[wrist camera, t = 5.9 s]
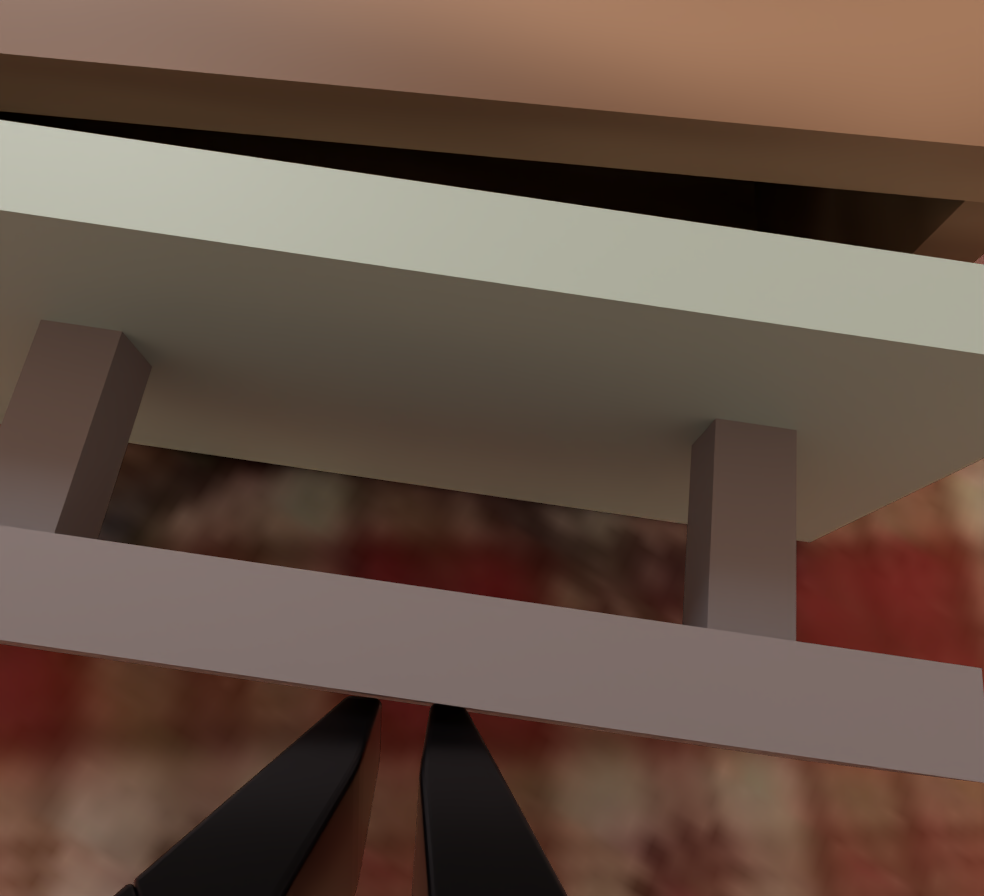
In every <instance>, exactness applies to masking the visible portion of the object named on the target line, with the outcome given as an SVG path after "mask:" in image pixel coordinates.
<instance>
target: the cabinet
mask: <svg viewBox="0 0 984 896" xmlns="http://www.w3.org/2000/svg"><path fill="white" fill-rule="evenodd" d="M0 120H4V121H11V122H18V123H25V124H32V125H38V126H45V127H52V128H59V129H66V130H72V131H79V132H86V133H93V134H100V135H106V136H113V137H120V138H127V139H134V140H140V141H147V142H154V143H161V144H168V145H174V146H181V147H188V148H195V149H202V150H208V151H215V152H222V153H229V154H235V155H242V156H249V157H256V158H263V159H269V160H276V161H283V162H290V163H297V164H303V165H310V166H317V167H324V168H331V169H337V170H344V171H351V172H358V173H365V174H371V175H378V176H385V177H392V178H399V179H405V180H412V181H419V182H426V183H433V184H439V185H446V186H453V187H460V188H467V189H473V190H480V191H487V192H494V193H501V194H507V195H514V196H521V197H528V198H535V199H541V200H548V201H555V202H562V203H568V204H575V205H582V206H589V207H596V208H602V209H609V210H616V211H623V212H630V213H636V214H643V215H650V216H657V217H664V218H670V219H677V220H684V221H691V222H698V223H704V224H711V225H718V226H725V227H732V228H738V229H745V230H752V231H759V232H766V233H772V234H779V235H786V236H793V237H800V238H806V239H813V240H820V241H827V242H834V243H840V244H847V245H854V246H861V247H867V248H874V249H881V250H888V251H895V252H901V253H908V254H915V255H922V256H929V257H935V258H942V259H949V260H956V261H963V262H969V263H974V262H975V261H976V260H977V259H978V258H980V257H981V256H982V255H983V254H984V0H0Z"/></svg>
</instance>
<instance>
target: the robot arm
mask: <svg viewBox="0 0 984 896" xmlns="http://www.w3.org/2000/svg"><path fill="white" fill-rule="evenodd" d="M381 714H382V705H381V702H380V700H379V699H377V698H370V697H359V696H349V697H347V698H345V699H344V700H343V701H341V702H340V703H339V704H338V705H337V706H336V707H334V708H333V709H332V710H331V711H330V712H329V713H327V714H326V715H325V716H324V717H323V718H322V719H321V720H319V721H318V722H317V723H316V724H315V725H314V726H312V727H311V728H310V729H309V730H308V731H307V732H305V733H304V734H303V735H302V736H301V737H300V738H298V739H297V740H296V741H295V742H294V743H293V744H291V745H290V746H289V747H288V748H287V749H286V750H284V751H283V752H282V753H281V754H280V755H279V756H278V757H276V758H275V759H274V760H273V761H272V762H271V763H269V764H268V765H267V766H266V767H265V768H264V769H262V770H261V771H260V772H259V773H258V774H257V775H255V776H254V777H253V778H252V779H251V780H250V781H248V782H247V783H246V784H245V785H244V786H243V787H242V788H240V789H239V790H238V791H237V792H236V793H235V794H233V795H232V796H231V797H230V798H229V799H228V800H226V801H225V802H224V803H223V804H222V805H221V806H219V807H218V808H217V809H216V810H215V811H214V812H212V813H211V814H210V815H209V816H208V817H207V818H205V819H204V820H203V821H202V822H201V823H200V824H199V825H197V826H196V827H195V828H194V829H193V830H192V831H190V832H189V833H188V834H187V835H186V836H185V837H183V838H182V839H181V840H180V841H179V842H178V843H176V844H175V845H174V846H173V847H172V848H171V849H169V850H168V851H167V852H166V853H165V854H164V855H162V856H161V857H160V858H159V859H158V860H157V861H156V862H154V863H153V864H152V865H151V866H150V867H149V868H147V869H146V870H145V871H144V872H143V873H142V874H140V875H139V876H138V877H137V878H136V879H135V880H134V885H132V884H128V885H126V886H125V887H124V888H122V889H121V890H120V891H119V892H118V893H117V894H115V895H114V896H355V892H356V888H357V885H358V880H359V875H360V870H361V865H362V860H363V854H364V848H365V842H366V837H367V831H368V825H369V819H370V814H371V808H372V802H373V797H374V791H375V785H376V779H377V774H378V767H379V759H380V743H381ZM412 896H567V894H566V892H565V890H564V888H563V887H562V885H561V883H560V881H559V879H558V877H557V875H556V874H555V872H554V870H553V868H552V866H551V864H550V863H549V861H548V859H547V857H546V855H545V853H544V852H543V850H542V848H541V846H540V844H539V842H538V840H537V839H536V837H535V835H534V833H533V831H532V829H531V828H530V826H529V824H528V822H527V820H526V818H525V817H524V815H523V813H522V811H521V809H520V807H519V806H518V804H517V802H516V800H515V798H514V796H513V794H512V793H511V791H510V789H509V787H508V785H507V783H506V782H505V780H504V778H503V776H502V774H501V772H500V771H499V769H498V767H497V765H496V763H495V761H494V759H493V758H492V756H491V754H490V752H489V750H488V748H487V747H486V745H485V743H484V741H483V739H482V737H481V736H480V734H479V732H478V730H477V728H476V726H475V725H474V723H473V721H472V719H471V717H470V715H469V713H468V712H467V710H466V709H465V708H461V707H454V706H447V705H440V704H433V705H432V706H431V708H430V711H429V717H428V723H427V729H426V735H425V741H424V746H423V752H422V758H421V765H420V775H419V790H418V805H417V820H416V836H415V851H414V866H413V881H412Z"/></svg>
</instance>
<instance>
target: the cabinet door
mask: <svg viewBox="0 0 984 896" xmlns="http://www.w3.org/2000/svg"><path fill="white" fill-rule="evenodd" d="M0 424H1V426H0V644H5V645H12V646H19V647H26V648H32V649H39V650H46V651H53V652H60V653H67V654H74V655H81V656H88V657H94V658H101V659H108V660H115V661H122V662H129V663H136V664H143V665H150V666H157V667H163V668H170V669H177V670H184V671H191V672H198V673H205V674H212V675H219V676H225V677H232V678H239V679H246V680H253V681H260V682H267V683H274V684H281V685H287V686H294V687H301V688H308V689H315V690H322V691H329V692H336V693H343V694H350V695H356V696H363V697H370V698H377V699H384V700H391V701H398V702H405V703H412V704H418V705H425V706H432V705H433V704H440V705H447V706H454V707H461V708H465V709H466V710H467V712H474V713H481V714H487V715H494V716H501V717H508V718H515V719H522V720H529V721H536V722H543V723H549V724H556V725H563V726H570V727H577V728H584V729H591V730H598V731H605V732H611V733H618V734H625V735H632V736H639V737H646V738H653V739H660V740H667V741H674V742H680V743H687V744H694V745H701V746H708V747H715V748H722V749H729V750H736V751H742V752H749V753H756V754H763V755H770V756H777V757H784V758H791V759H798V760H805V761H812V762H820V763H828V764H837V765H845V766H853V767H861V768H869V769H877V770H885V771H893V772H901V773H909V774H917V775H925V776H933V777H942V778H950V779H958V780H966V781H974V782H982V783H984V691H983V678H982V668H977V667H970V666H963V665H956V664H949V663H942V662H936V661H929V660H922V659H915V658H908V657H901V656H894V655H887V654H881V653H874V652H867V651H860V650H853V649H846V648H839V647H832V646H826V645H819V644H812V643H805V642H798V641H796V540H798V541H805V542H812V541H814V540H816V539H818V538H820V537H822V536H824V535H826V534H828V533H830V532H833V531H835V530H837V529H839V528H841V527H843V526H845V525H847V524H849V523H851V522H853V521H855V520H857V519H859V518H861V517H863V516H866V515H868V514H870V513H872V512H874V511H876V510H878V509H880V508H882V507H884V506H886V505H888V504H890V503H892V502H894V501H897V500H899V499H901V498H903V497H905V496H907V495H909V494H911V493H913V492H915V491H917V490H919V489H921V488H923V487H925V486H927V485H930V484H932V483H934V482H936V481H938V480H940V479H942V478H944V477H946V476H948V475H950V474H952V473H954V472H956V471H958V470H960V469H963V468H965V467H967V466H969V465H971V464H973V463H975V462H977V461H979V460H981V459H983V458H984V265H983V264H976V263H969V262H963V261H956V260H949V259H942V258H935V257H929V256H922V255H915V254H908V253H901V252H895V251H888V250H881V249H874V248H867V247H861V246H854V245H847V244H840V243H834V242H827V241H820V240H813V239H806V238H800V237H793V236H786V235H779V234H772V233H766V232H759V231H752V230H745V229H738V228H732V227H725V226H718V225H711V224H704V223H698V222H691V221H684V220H677V219H670V218H664V217H657V216H650V215H643V214H636V213H630V212H623V211H616V210H609V209H602V208H596V207H589V206H582V205H575V204H568V203H562V202H555V201H548V200H541V199H535V198H528V197H521V196H514V195H507V194H501V193H494V192H487V191H480V190H473V189H467V188H460V187H453V186H446V185H439V184H433V183H426V182H419V181H412V180H405V179H399V178H392V177H385V176H378V175H371V174H365V173H358V172H351V171H344V170H337V169H331V168H324V167H317V166H310V165H303V164H297V163H290V162H283V161H276V160H269V159H263V158H256V157H249V156H242V155H235V154H229V153H222V152H215V151H208V150H202V149H195V148H188V147H181V146H174V145H168V144H161V143H154V142H147V141H140V140H134V139H127V138H120V137H113V136H106V135H100V134H93V133H86V132H79V131H72V130H66V129H59V128H52V127H45V126H38V125H32V124H25V123H18V122H11V121H4V120H0ZM128 443H133V444H140V445H147V446H154V447H161V448H167V449H174V450H181V451H188V452H195V453H202V454H209V455H215V456H222V457H229V458H236V459H243V460H250V461H257V462H263V463H270V464H277V465H284V466H291V467H298V468H305V469H311V470H318V471H325V472H332V473H339V474H346V475H353V476H359V477H366V478H373V479H380V480H387V481H394V482H400V483H407V484H414V485H421V486H428V487H435V488H442V489H448V490H455V491H462V492H469V493H476V494H483V495H490V496H496V497H503V498H510V499H517V500H524V501H531V502H538V503H544V504H551V505H558V506H565V507H572V508H579V509H585V510H592V511H599V512H606V513H613V514H620V515H627V516H633V517H640V518H647V519H654V520H661V521H668V522H675V523H681V524H688V525H687V545H686V564H685V583H684V603H683V622H682V625H681V624H674V623H668V622H661V621H654V620H647V619H640V618H633V617H626V616H619V615H613V614H606V613H599V612H592V611H585V610H578V609H571V608H565V607H558V606H551V605H544V604H537V603H530V602H523V601H516V600H510V599H503V598H496V597H489V596H482V595H475V594H468V593H461V592H455V591H448V590H441V589H434V588H427V587H420V586H413V585H406V584H400V583H393V582H386V581H379V580H372V579H365V578H358V577H352V576H345V575H338V574H331V573H324V572H317V571H310V570H303V569H297V568H290V567H283V566H276V565H269V564H262V563H255V562H248V561H242V560H235V559H228V558H221V557H214V556H207V555H200V554H193V553H187V552H180V551H173V550H166V549H159V548H152V547H145V546H139V545H132V544H125V543H118V542H111V541H104V540H97V539H98V536H99V533H100V530H101V527H102V524H103V520H104V517H105V514H106V511H107V508H108V505H109V501H110V498H111V495H112V492H113V489H114V486H115V483H116V479H117V476H118V473H119V470H120V467H121V464H122V460H123V457H124V454H125V451H126V448H127V445H128Z"/></svg>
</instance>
